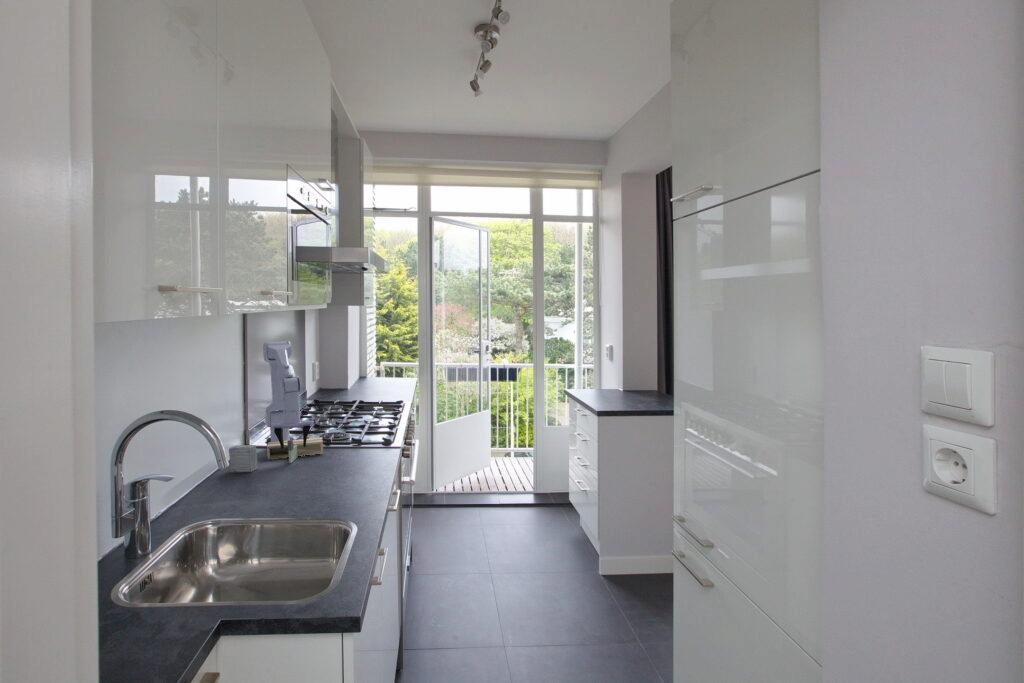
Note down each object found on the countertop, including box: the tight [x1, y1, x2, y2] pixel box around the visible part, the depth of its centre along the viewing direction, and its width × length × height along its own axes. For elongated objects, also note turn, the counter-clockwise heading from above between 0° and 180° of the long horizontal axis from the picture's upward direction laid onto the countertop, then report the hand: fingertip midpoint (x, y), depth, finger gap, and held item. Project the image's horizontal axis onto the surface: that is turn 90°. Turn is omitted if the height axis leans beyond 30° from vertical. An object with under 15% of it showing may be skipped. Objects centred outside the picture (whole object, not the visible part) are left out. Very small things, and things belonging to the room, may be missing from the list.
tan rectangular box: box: [266, 437, 324, 461], centre depth 239 cm, size 8×20×5 cm, turn 108°
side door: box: [287, 438, 299, 464], centre depth 230 cm, size 1×10×8 cm, turn 5°
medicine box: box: [228, 444, 259, 473], centre depth 217 cm, size 8×4×9 cm, turn 84°
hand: (293, 447), depth 227 cm, fingers open, 7 cm apart
